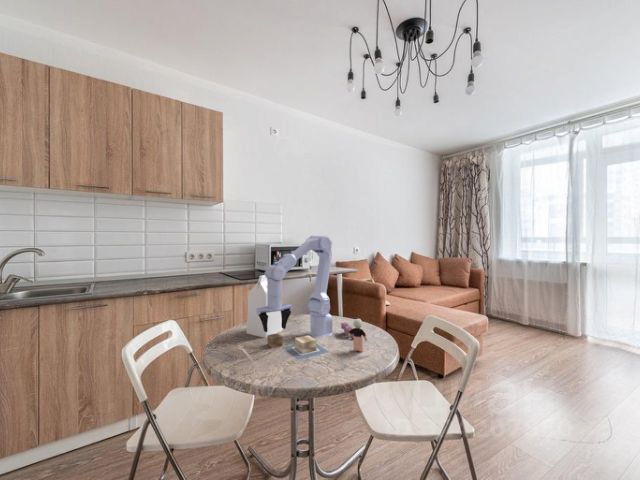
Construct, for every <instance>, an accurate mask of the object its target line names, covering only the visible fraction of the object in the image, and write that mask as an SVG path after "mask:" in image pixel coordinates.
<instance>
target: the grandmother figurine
mask: <svg viewBox="0 0 640 480" xmlns="http://www.w3.org/2000/svg"><path fill="white" fill-rule="evenodd" d="M362 323H363V321H362V320H361V318H356V319H355V320H353V323H352V325H353V326H354V327H353V328H352V329H351V330H350V331H349V334H348V337H347V338H350V336H351V334H354V338H353V339H352V341H353V342H352V343H353V344H352V345H353V351H354V352H359V353H364V352H365V350H364V341H365V342H367V341H368V338H367V334H366V333H365V331H364V330H363V329H362V328H361V327H362ZM363 339H364V340H363Z"/></svg>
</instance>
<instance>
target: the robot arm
mask: <svg viewBox="0 0 640 480" xmlns="http://www.w3.org/2000/svg"><path fill="white" fill-rule="evenodd" d="M332 245H333V242H332V240H331V239H330V237H329V236H327V235H310V236H309V237H308V238H306V239H305V241H304V242H303V243H302V244H300V246H299V247H298V248H295V249H296V250H294V251H293V252H291V253H284V254H283V255H282V257H281V258H280V259H279V260H277V261H275V262H274V264H271V265H270V264H269V265H268V266H267V267H266V270H265V271H264V275H265V276H266V278H267V306H266V307H262V308H256V314H258V315H259V317H260V319H261V322H262V325H263V329H264V331H265V332H267V322H268V315H267V314H266V313H269V312H276V311H281V317H282V328H283V330H286V326H287V323H288V320H289V318H290V316H291V314H292V310H293V304H292V303H288V304H287V303H286V304H283V280H284V279H285V276H286V274H287V272H289V271H290V270H291V269H293V267H295V266H296V265H297V260H299V259H300V258H302V257H303V256H304V255H306V254H307V253H308V252H310V251H313V252H314V253H315V254H316V255H317V256H318V257H319V258H318V265H317V271H316V278H315V285H314V291H313V292H312V293H311V294H310V296H309V300H308V301H307V304H306V308H307V310H308V311H309V314H310V316H309V317H310V330H309V331H307V332H306V334H308V335H309V336H311V337H312V338H314V339H316V338H320V337H324V336H330V335H333V334H334V333H333V317H332V315H331V314H330V311H331V303H330V302H331V301H330V298H329V295H328V294H327V292H328V291H327V290H328V284H329V278H330V277H329V276H330V271H331V264H332V259H333V252H332Z"/></svg>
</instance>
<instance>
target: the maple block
mask: <svg viewBox="0 0 640 480" xmlns="http://www.w3.org/2000/svg"><path fill="white" fill-rule="evenodd" d="M316 344H317V339H316V338H315V337H313V336H312V335H310V334H308V335H305V336H299V337H295V338H294V345H295V349H297V350H298V351H299V352H300V353H302V354H304V353H308V352H312V351H316Z"/></svg>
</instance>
